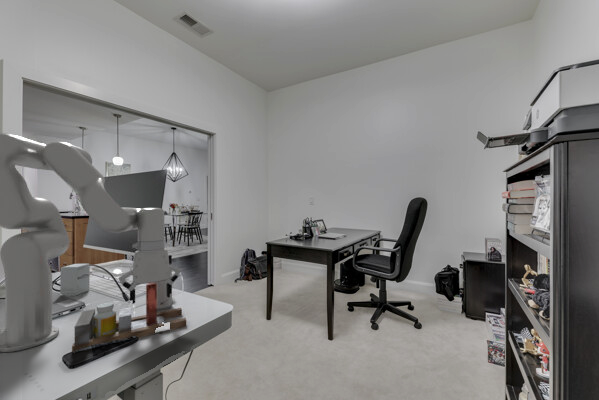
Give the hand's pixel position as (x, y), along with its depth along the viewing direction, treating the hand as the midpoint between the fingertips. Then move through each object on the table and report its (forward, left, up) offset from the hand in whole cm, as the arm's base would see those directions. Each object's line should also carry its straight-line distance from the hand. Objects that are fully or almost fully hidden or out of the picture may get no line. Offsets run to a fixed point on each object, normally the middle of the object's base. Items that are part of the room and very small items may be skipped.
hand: (151, 299), depth 83 cm
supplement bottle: (-12, 0, -9) cm, 15 cm away
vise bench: (-5, 0, -9) cm, 10 cm away
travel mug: (+4, +15, -9) cm, 18 cm away
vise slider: (-2, 0, -8) cm, 9 cm away
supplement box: (-28, +57, -9) cm, 64 cm away
